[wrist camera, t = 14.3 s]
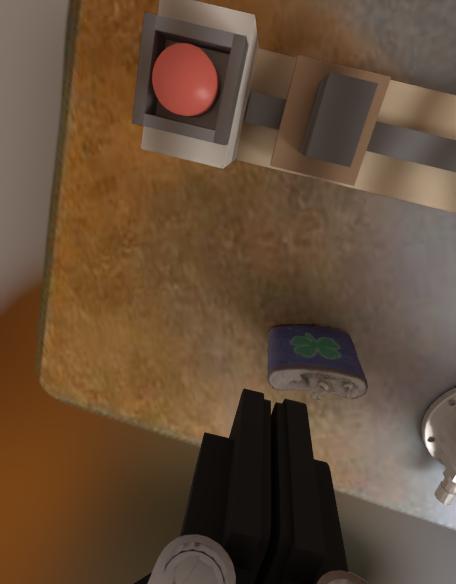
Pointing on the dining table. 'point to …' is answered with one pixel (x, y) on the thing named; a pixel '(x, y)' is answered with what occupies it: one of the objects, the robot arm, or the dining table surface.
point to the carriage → (328, 119)
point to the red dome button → (186, 80)
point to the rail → (270, 105)
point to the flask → (314, 361)
